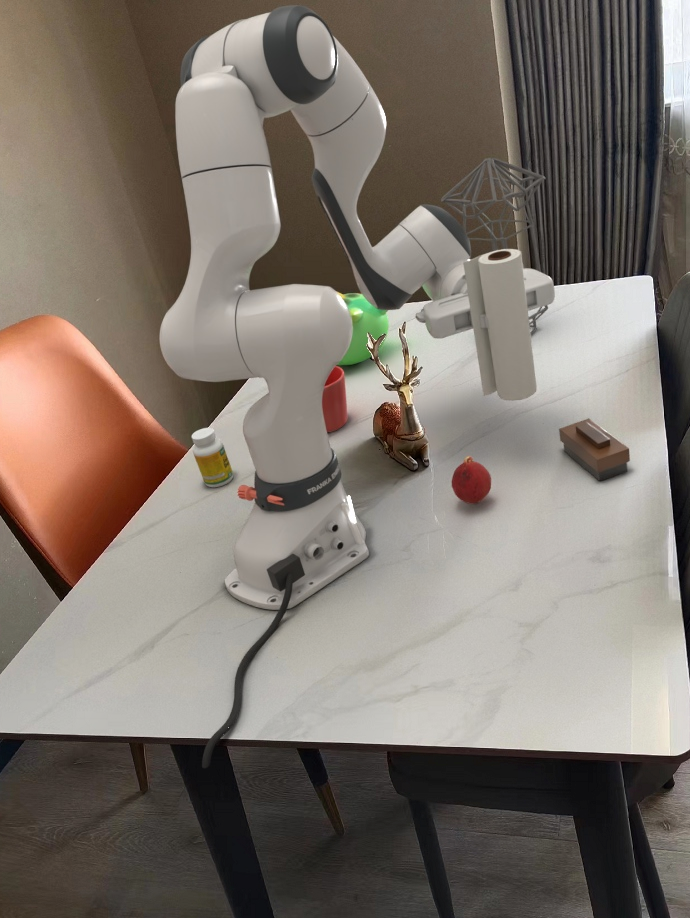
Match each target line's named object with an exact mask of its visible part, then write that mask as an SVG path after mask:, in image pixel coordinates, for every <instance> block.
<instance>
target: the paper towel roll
mask: <svg viewBox="0 0 690 918" xmlns="http://www.w3.org/2000/svg"><path fill="white" fill-rule="evenodd" d="M522 257H523V256H522V251H521V250H519V249H515V248H508V249H502V248H501V249H498V250H496V251H493V252H492V251H490V252H486V253H483V254H480V255H478V256H476V257H474V258H471V259H470V260H469V261H466V262H463V265H464V271H465V278H466V284H467V291H468V297H469V304H470V310H471V317H472V323H473V329H472V330H473V336H474V343H475V349H476V355H477V362H478V368H479V375H480V382H481V388H482V393H483V395H482V396H483V397H486V396H490V395H491V394H494V393H495V392H496V394H497V396H498V398H499V399H501V400H504V401H509V402H516V401H521V400H526V399H528V398H530V397H532V396H533V395H534V394H535V393H536V392H537V390H538V389H537V387H538V385H537V378H536V377H537V376H536V370H535V369H536V368H535V359H534V353H533V344H532V333H530V332H531V327H530V325H531V324H530V325H529V323H530V320H529V317H530V316H529V311H528V308H527V299H526V290H525V282H524V273H523V266H524V264H522V263H523V258H522ZM482 313H483V314H486V317H487V318H488V321H489V328H490V330H489V329H488V328H486V327H485V328H481V327H480V320H479V315H480V314H482Z"/></svg>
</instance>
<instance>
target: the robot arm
mask: <svg viewBox="0 0 690 918" xmlns="http://www.w3.org/2000/svg"><path fill="white" fill-rule="evenodd" d="M179 76H180V79H179V80H180V88H179V89H178V92H177V94H176V98H175V105H174V107H175V108H174V110H175V113H174V114H175V118H174V119H175V139H176V150H177V156H178V158H177V159H178V165H179V170H180V176H181V177H180V178H181V182H182V187H183V193H184V199H185V207H186V211H187V212H186V213H187V220H188V227H189V234H190V259H189V266H188V271H187V275H186V278H185V283H184V285H183V287H182V289H181V292H180V294H179V296H178V297H177V299H176V301H175V302H174V303H173V304H172V305H171V307H170V308H169V309H168V310H167V311H166V313H165V315H164V317H163V319H162V322H161V325H160V328H159V346H160V351H161V354H162V356H163V359H164V361H165V363H166V364H167V366H168V367H169V368H170V370H172V372H174V374H175V375H176V376H178V377H179V378H181V379H183V380H189V381H190V380H191V381H197V382H211V383H221V382H229V381H238V380H249V379H256V378H259V379H264V381H265V383H266V385H267V389H268V392H267V393H266V394H264V395H263V396H262V397H261V398H259V399H258V400H257V401H255V402H254V403H253V404H252V405H251V406H250V407H249V409H248V410H247V412H245V413H246V414H245V416H244V419H243V422H242V434H243V437H244V440H245V443H246V446H247V448H248V452H249V455H250V457H251V460H252V464H253V467H254V470H255V471H254V484H253V485H254V486H248V485H247V484H241V485H239V486H238V488H237V492H236V493H237V496H238V498H239V499H241V500H246V501H248V502H252V501H253V500H254V504H253V506H252V508H251V509H250V513H249V514H248V516H247V518H246V520H245V522H244V524H243V527H242V528H241V530H240V532H239V534H238V536H237V538H236V540H235V542H234V544H233V549H232V550H233V553H232V554H233V559H234V565H235V567H234V568H233V569H232V570H231V572H229V574H228V575H227V576H226V577H225V579H224V585H225V588H226V591H227V592H228V593H229V594H230V595H231V596H232V597H233V598H234V599H236V600H238V601H240V602H242V603H244V604H247V605H249V606H252V607H254V608H255V607H256V608H259V609H264V610H272V611H277V613H276V615H275V617H274V619H273V620H272V622H271V624H270V625H269V627H267V629H266V630H265V632H264V633H263V634H262V635H261V636H260V637H259V638H258V640H256V642H255V643H253V645H252V646H251V647H250V648H249V649H248V650H247V651H246V652H245V654H244V656H243V657H242V659H241V661H240V663H239V664H238V666H237V669H236V673H235V677H234V687H233V688H234V689H233V701H232V702H233V703H232V707H231V711H230V714H229V715H228V718H227V719H226V721H225V722H224V724H223V725H221V727H219V728H218V730H216V731H215V732H214V733H213V735H211V737H210V739H209V740H208V742H207V743H206V745H205V747H204V751H203V754H202V760H201V767H202V769H207V768H208V767H209V766H210V764H211V760H212V754H213V753H214V749H215V747H216V745H217V744H218V742H219V741H220V740H221V739H222V738H223V737H224V736H225V735H226V734H227V733H228V732H229V731H230V730H231V728H232V727H233V726H234V725H235V724H236V721H237V719H238V717H239V713H240V710H241V705H242V690H243V689H242V688H243V687H242V686H243V678H244V674H245V671H246V669H247V666H248V664H249V663H250V661H251V660H252V658H253V657H254V656H255V654H256V653H257V652H258V651H259V650H260V649H261V648H262V646H263V645H265V643H266V642H267V641H268V639H269V638H270V637H272V635H273V634H274V633H275V632H276V630H277V628H278V627H279V625H280V623H281V622H282V621H283V618H284V616H285V614H286V612H287V610H289V609H293V608H294V607H296V606H297V605H298V604H299V605H300V603H302V602H303V601H305V600H306V599H308V598H309V597H311V596H312V595H314V594H315V593H316V592H319V590H322V589H323V588H324V587H326V586H327V585H329V584H330V583H332V582H333V581H334V580H336V579H338V578H340V576H342V575H344V574H345V573H347V572H348V571H350V570H351V569H352V568H354V567H356V566H357V565H359V564H360V563H361V562H363V561H365V560H367V558H368V557H369V556H370V552H369V549H368V546H367V544H366V538H367V531H366V528H365V526H364V525H363V523H362V522H361V521H360V519H359V517H358V516H357V514H356V512H355V510H354V506H353V503H352V499H351V496H350V495H347V493H346V490H345V487H344V485H343V482H342V470H341V466H340V463H339V459H338V456H337V454H336V451H335V449H333V447H331V443H330V439H329V435H328V432H327V430H326V426H325V421H324V416H323V409H322V395H323V390H324V386H325V383H326V380H327V378H328V376H329V374H330V373H331V371H332V370H333V368H334V367H335V366H338V365H337V364H338V363H339V362H340V361H341V360H342V358H343V357H344V356H345V354H346V352H347V351H348V348H349V346H350V343H351V339H352V332H353V325H352V318H351V314H350V311H349V309H348V307H347V305H346V303H345V301H344V300H343V298H342V297H341V296H340V295H339V294H338V293H337V292H338V291H336V290H335V289H334V288H333V287H332V286H329V285H317V284H306V283H305V284H303V283H302V284H301V283H291V284H284V285H278V286H270V287H264V288H256V289H250V277H251V272H252V270H253V267H254V265H255V263H256V262H257V261H258V260H259V259H261V258H262V257H264V256H265V255H266V254H267V253H269V251H270V250H271V249H272V248H273V247H274V246H275V244H276V242H277V241H278V238H279V235H280V233H281V227H282V224H281V217H280V211H279V205H278V199H277V193H276V187H275V181H274V175H273V168H272V162H271V157H270V151H269V146H268V143H267V138H266V135H265V131H264V127H263V125H264V120H265V119H269V118H273V117H276V116H279V115H282V114H285V113H286V112H289V111H290V112H291V114H292V116H293V117H294V119H295V121H296V122H297V124H298V125H299V127H300V128H301V130H302V131H303V132H304V135H306V137H307V139H308V141H309V143H310V145H311V148H312V152H313V159H314V168H313V170H312V174H311V177H310V178H311V183H312V187H313V189H314V192H315V195H316V197H317V200H318V202H319V205H320V207H321V208H322V211H323V214H324V215H325V218H326V219H327V221H328V223H329V225H330V228H331V229H332V231H333V234H334V236H335V238H336V240H337V242H338V243H339V246H340V248H341V250H342V252H343V254H344V256H345V258H346V260H347V262H348V264H349V267H350V269H351V272H352V274H353V276H354V279H355V282H356V286H357V288H358V290H359V291H360V292H359V293H360V294H362V295H363V296H364V298H365V299H366V300H367V301H368V302H369V303H370V304H371V305H373V306H374V307H375V308H376V309H378V310H388V311H396V310H400V309H401V308H402V307H404V305H405V304H406V303H407V302H408V301H409V299H411V298H412V297H413V294H415V292H417V291H418V290H419V289H421V287H422V289H423V290H424V292H425V293H426V294H427V296H428V298H429V299H431V300H432V301H429V302H428V303H426V304H425V305H423V307H422V308H421V309H420V311H419V312H416V313H415V319H416V321H418V322H419V323H421V324H425V327H426V330H427V332H428V334H429V335H430V336H431V337H432V338H433V339H439V340H440V339H444V338H448V337H451V336H454V335H457V334H460V333H463V332H466V331H469V330H473V323H472V317H471V310H470V304H469V297H468V291H467V284H466V278H465V271H464V265H463V262H466V261H469V260H471V258H472V246H471V240H469V238H470V237H469V236H468V235H467V234H466V233H467V232H466V233H465V231H464V229H463V226H462V225H461V224H460V223H459V221H458V220H457V219H456V218H455V217H454V216H453V215H452V214H451V213H449V212H448V211H447V210H445V209H444V208H442V207H440V206H437V205H433V204H420V205H419V206H418V207H416V208H415V209H414V210H412V212H411V213H409V214H408V215H407V216H406V217H405V218H404V219H402V221H401V222H399V223H398V224H397V225H396V227H394V228H393V229H392V230H391V231H390V232H389V233H388V234H387V235H385V236H384V237H383V238H382V239H381V240H380V241H379V242H378V243H377V244H375V245H374V246H372V244H371V242H370V240H369V238H368V236H367V234H366V232H365V229H364V227H363V225H362V223H361V220H360V218H359V215H358V209H357V207H358V206H357V205H358V201H359V196H360V194H361V192H362V189H363V186H364V184H365V182H366V180H367V178H368V176H369V175H370V173H371V170H372V169H373V167H374V166H375V164H376V163H377V161H378V159H379V157H380V155H381V152H382V150H383V148H384V147H383V146H384V143H385V139H386V135H387V134H386V132H387V118H386V114H385V110H384V109H383V106H382V104H381V102H380V100H379V98H378V96H377V94H376V92H375V90H374V89H373V87H372V85H371V84H370V82H369V81H368V79H367V78H366V76H365V74H364V72H363V71H362V69H361V68H360V67H359V66H358V64H357V62H355V60H354V59H353V57H352V56H351V55H350V53H349V52H348V50H346V49H345V47H344V46H343V44H342V43H340V41H339V40H338V39H337V38H336V37H335V36H334V35H333V33H332V31H331V29H330V27H329V25H328V24H327V23H326V22H325V20H324V19H323V18H322V17H321V16H320V15H319V14H317V13H316V12H315V11H314V10H313V9H311V8H309V7H308V6H306V5H299V4H293V5H292V4H291V5H284V6H278V7H276V8H274V9H272V11H270V12H266V13H261V14H257V15H254V16H252V17H248V18H246V19H244V18H243V19H239V20H237V21H234V22H232V23H230V24H228V25H226V26H224V27H223V28H221V29H219V30H218V31H216V32H213V34H211V35H207V36H203V37H202V38H200V39H199V40H198V41H196V42H195V43H194V44H192V45H191V47H190V48H189V49H188V50H187V52H186V53H185V54H184V57H183V58H182V61H181V66H180V74H179ZM522 264H523V262H522ZM523 273H524V282H525V290H526V299H527V308H528V312H529V311H532V310H535V309H536V310H537V309H539V308H540V307H542V306H543V307H545V305H548V306H549V305H551V304H553V303H554V301H555V299H556V298H555V297H556V293H555V292H556V291H555V285H554V280H553V279H552V277H550V276H549V275H547V274H545V273H544V272H542V271H541V272H539V271H537V269H534V268H528V267H524V264H523ZM543 307H542V308H543ZM479 320H480V327H481V328H485V327H486V328H488V329H489V330H490V328H489V321H488V318H487V317H486V314H483V313H482V314H480V315H479ZM228 727H229V728H228ZM223 734H224V735H223ZM214 744H216V745H214Z"/></svg>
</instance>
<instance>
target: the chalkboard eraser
mask: <svg viewBox="0 0 690 918" xmlns="http://www.w3.org/2000/svg"><path fill="white" fill-rule="evenodd" d="M558 431H559V441H560V442H561V443H562V444H563V451H564V452H565V453H566V454H567V455H569V457H571V458H572V459H573V460H574V461H575V462H577V463H578V464H579V465H580V466H581V467H582V468H583V469H585V470H586V471H587V472H588V473H589V474H591V475H592V476H593V477H594V478H595V479H597V481H599V482H601V481H604V480H607V479H610V478H613V477H616V476H618V475H621V474H624V473H626V472H628V463H629V462H631V459H630V448H629V447H628V446H626V445H625V444H624V443H622V442H621V441H620V440H618V439H617V438H616V437H615V436H613V435H612V434H611V433H609V432H608V431H606V430H605V429H604V428H603V427H602V426H600V425H599V424H597V423H596V422H595V421H593V420H591V418H586V419H583V420H581V421H577V422H574V423H572V424H568V425H566V426H563V427H559V428H558Z"/></svg>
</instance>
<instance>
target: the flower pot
mask: <svg viewBox="0 0 690 918" xmlns="http://www.w3.org/2000/svg"><path fill="white" fill-rule="evenodd" d="M322 409H323V416H324V421H325V426H326V430H327V433H331V432H334V431H337V430H339V429H341V428H342V427H343V426H345V425H346V423H347V422H348V404H347V389H346V377H345V372H344V369H343V368H342V367H340V366H338V365H336V366H335V367H334V368H333V370H332V371H331V373H330V374H329V376H328V378H327V380H326V383H325V386H324V390H323V395H322Z"/></svg>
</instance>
